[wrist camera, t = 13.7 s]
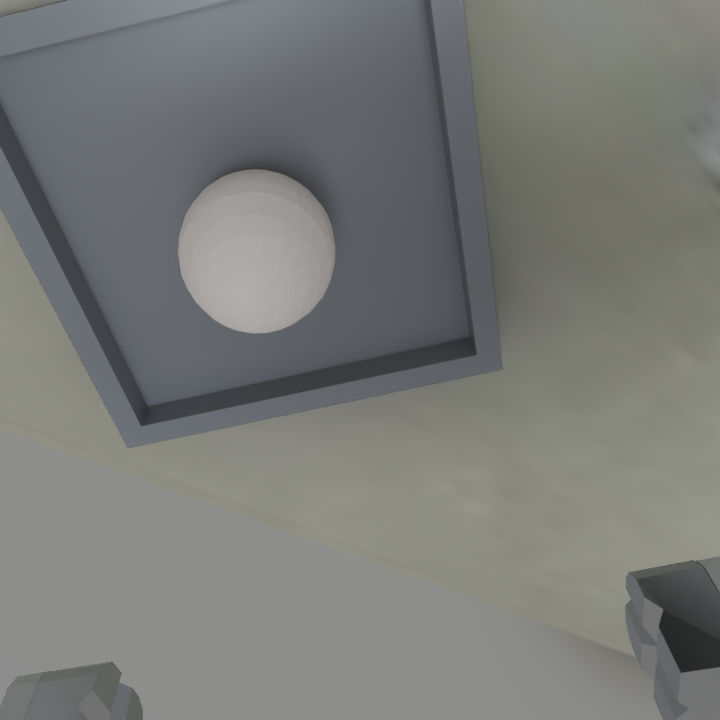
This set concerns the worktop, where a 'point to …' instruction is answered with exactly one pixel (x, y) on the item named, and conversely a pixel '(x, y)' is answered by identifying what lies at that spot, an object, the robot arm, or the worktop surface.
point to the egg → (256, 251)
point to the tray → (237, 153)
